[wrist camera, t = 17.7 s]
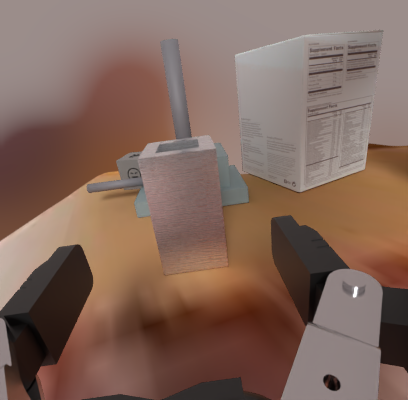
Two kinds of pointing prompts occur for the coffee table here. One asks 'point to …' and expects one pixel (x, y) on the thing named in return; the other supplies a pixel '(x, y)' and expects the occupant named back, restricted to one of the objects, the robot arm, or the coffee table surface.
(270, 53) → the supplement box
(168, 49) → the vise
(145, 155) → the steel sleeve
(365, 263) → the coffee table surface
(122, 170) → the dice cube
